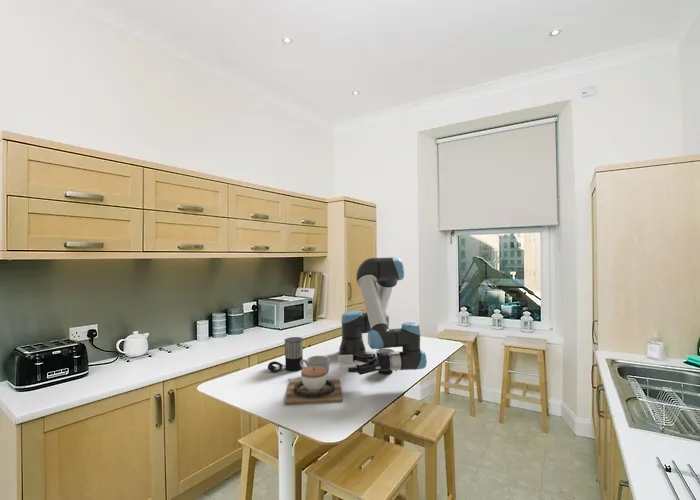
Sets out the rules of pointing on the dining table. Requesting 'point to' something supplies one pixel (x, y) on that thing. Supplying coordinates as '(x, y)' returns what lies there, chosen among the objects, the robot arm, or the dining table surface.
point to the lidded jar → (314, 378)
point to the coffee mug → (378, 356)
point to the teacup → (316, 362)
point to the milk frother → (290, 355)
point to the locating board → (314, 393)
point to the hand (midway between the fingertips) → (338, 363)
